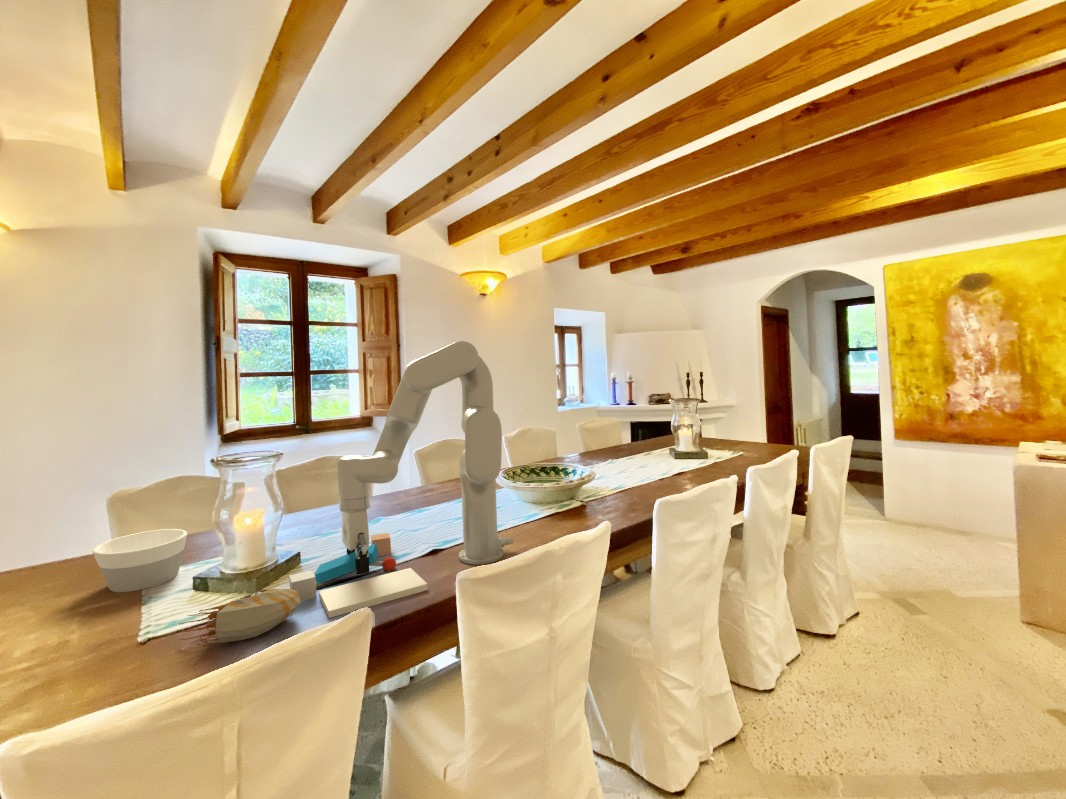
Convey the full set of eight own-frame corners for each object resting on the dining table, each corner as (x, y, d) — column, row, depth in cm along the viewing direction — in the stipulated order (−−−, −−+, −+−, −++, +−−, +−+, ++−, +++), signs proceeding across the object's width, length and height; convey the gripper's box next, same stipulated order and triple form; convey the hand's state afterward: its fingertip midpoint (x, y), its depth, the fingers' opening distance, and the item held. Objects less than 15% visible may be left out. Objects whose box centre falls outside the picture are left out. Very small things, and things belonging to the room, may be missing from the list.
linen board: (410, 573, 124) (410, 567, 124) (427, 589, 114) (427, 583, 114) (319, 597, 112) (318, 591, 112) (329, 618, 102) (328, 611, 102)
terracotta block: (389, 549, 143) (388, 532, 142) (391, 554, 138) (390, 537, 138) (371, 552, 141) (370, 535, 140) (373, 557, 136) (372, 540, 136)
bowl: (137, 599, 114) (134, 555, 114) (74, 594, 118) (71, 552, 117) (207, 567, 133) (204, 529, 132) (151, 564, 137) (148, 527, 136)
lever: (323, 601, 120) (396, 572, 124) (313, 575, 120) (387, 547, 123) (329, 589, 127) (398, 562, 131) (319, 564, 127) (389, 538, 130)
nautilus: (163, 666, 87) (200, 628, 102) (291, 640, 92) (308, 607, 107) (158, 623, 87) (196, 592, 102) (286, 599, 92) (304, 572, 106)
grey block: (313, 590, 116) (312, 570, 116) (316, 597, 112) (315, 576, 112) (290, 595, 113) (289, 575, 113) (292, 603, 109) (291, 582, 109)
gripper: (332, 498, 129) (336, 560, 130) (347, 512, 115) (350, 582, 116) (361, 494, 134) (364, 554, 134) (378, 507, 119) (381, 574, 120)
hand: (358, 567), depth 125 cm, fingers open, 9 cm apart
